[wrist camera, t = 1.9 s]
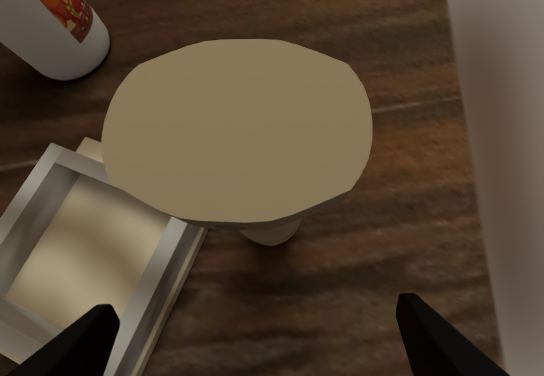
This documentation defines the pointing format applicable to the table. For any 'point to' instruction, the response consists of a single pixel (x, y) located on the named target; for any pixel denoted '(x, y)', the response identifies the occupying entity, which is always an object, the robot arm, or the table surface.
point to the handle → (239, 135)
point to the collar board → (88, 258)
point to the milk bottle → (55, 36)
